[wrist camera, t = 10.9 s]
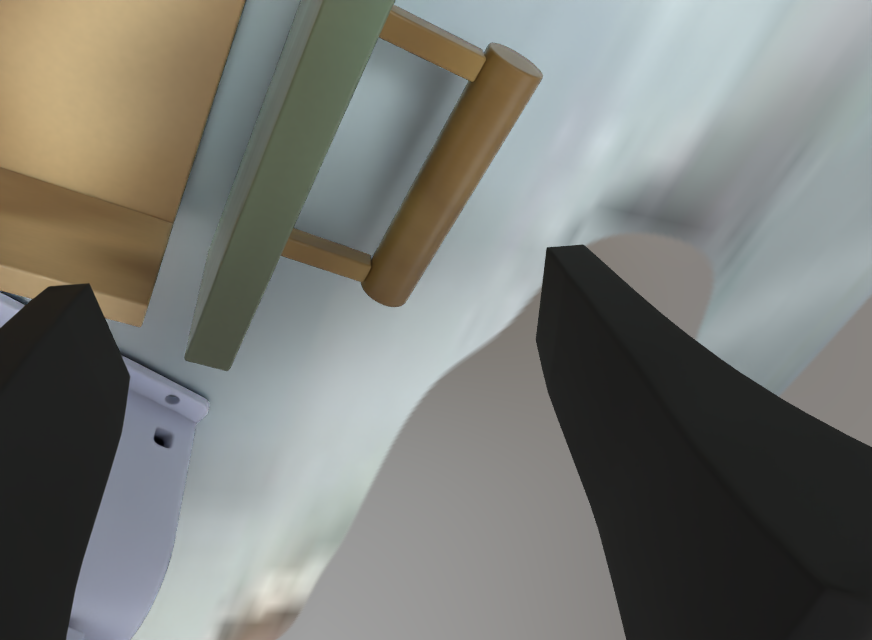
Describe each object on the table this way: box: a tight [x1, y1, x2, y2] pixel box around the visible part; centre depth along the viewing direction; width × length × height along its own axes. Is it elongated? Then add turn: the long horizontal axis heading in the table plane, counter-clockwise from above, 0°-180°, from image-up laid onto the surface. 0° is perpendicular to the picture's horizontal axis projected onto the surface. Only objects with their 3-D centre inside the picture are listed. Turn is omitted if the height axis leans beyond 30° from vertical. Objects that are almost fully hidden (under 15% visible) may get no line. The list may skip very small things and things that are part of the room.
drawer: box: [0, 0, 543, 371], centre depth 15 cm, size 16×13×5 cm
